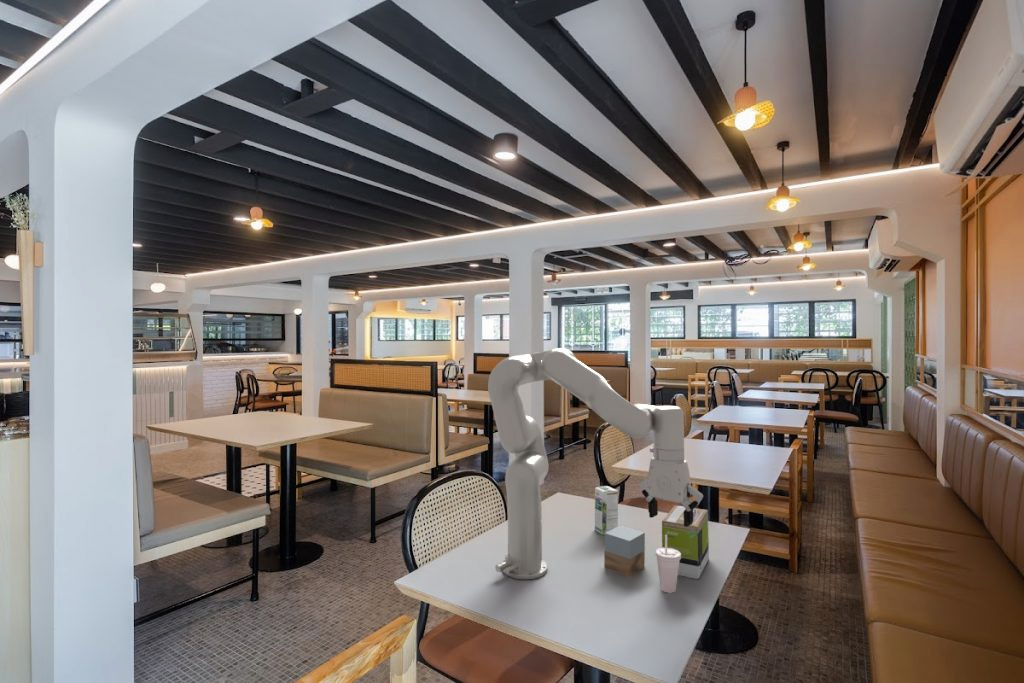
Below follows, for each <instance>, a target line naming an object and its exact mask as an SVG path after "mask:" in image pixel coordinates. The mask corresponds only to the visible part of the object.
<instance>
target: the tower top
mask: <svg viewBox="0 0 1024 683" xmlns="http://www.w3.org/2000/svg"><path fill="white" fill-rule="evenodd" d="M645 534H646V533H645V531H640V530H638V529H633V528H631V527H627V526H623V525H618V527H616V528H614V529H612V530H610V531H608V532H606V533H605V536H604V551H607V552H610V553H613V554H616V555H619V556H622V557H625V558H628V559H631V558H633V557H634V556H636V555H638V554H639V553H641V552H643V551H644V550H646V548H645V547H646V546H645V544H646V541H645V540H646V538H645V536H646V535H645Z"/></svg>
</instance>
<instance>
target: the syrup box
mask: <svg viewBox="0 0 1024 683" xmlns="http://www.w3.org/2000/svg"><path fill="white" fill-rule="evenodd" d="M618 520H619V490H618V489H616V488H613V487H611V486H608V485H604V486H603V485H601V486H598V487H597V486H596V487H595V488H594V531H595V530H596V532H597V533H599V534H600V535H602V536H604V537H605V533H606V532H608V531H610V530H612V529H614V528H616V527H618V526H619V525H618V523H619V521H618Z"/></svg>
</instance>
